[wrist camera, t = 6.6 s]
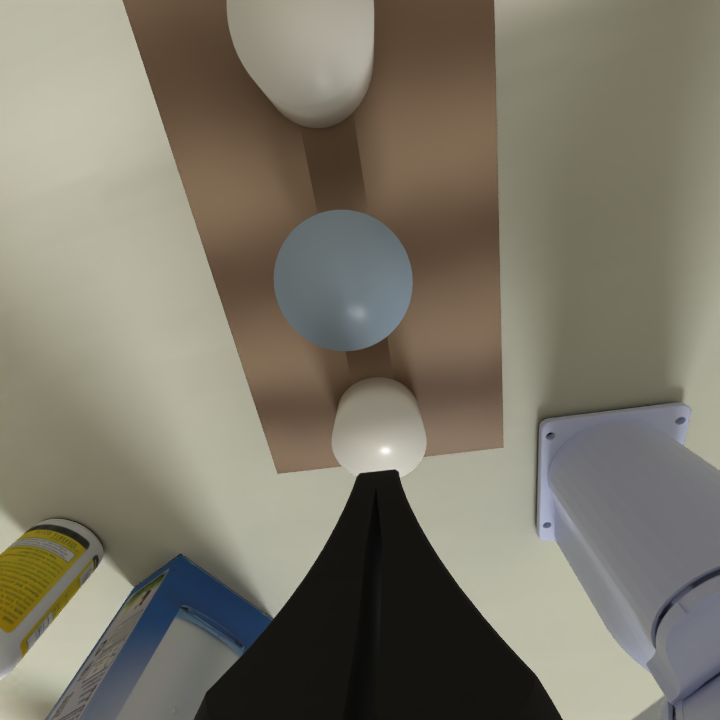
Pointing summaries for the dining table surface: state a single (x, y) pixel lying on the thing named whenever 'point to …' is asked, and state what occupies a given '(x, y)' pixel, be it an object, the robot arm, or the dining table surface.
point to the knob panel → (348, 192)
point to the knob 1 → (306, 54)
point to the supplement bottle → (41, 582)
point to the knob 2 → (378, 428)
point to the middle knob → (343, 280)
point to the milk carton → (163, 649)
